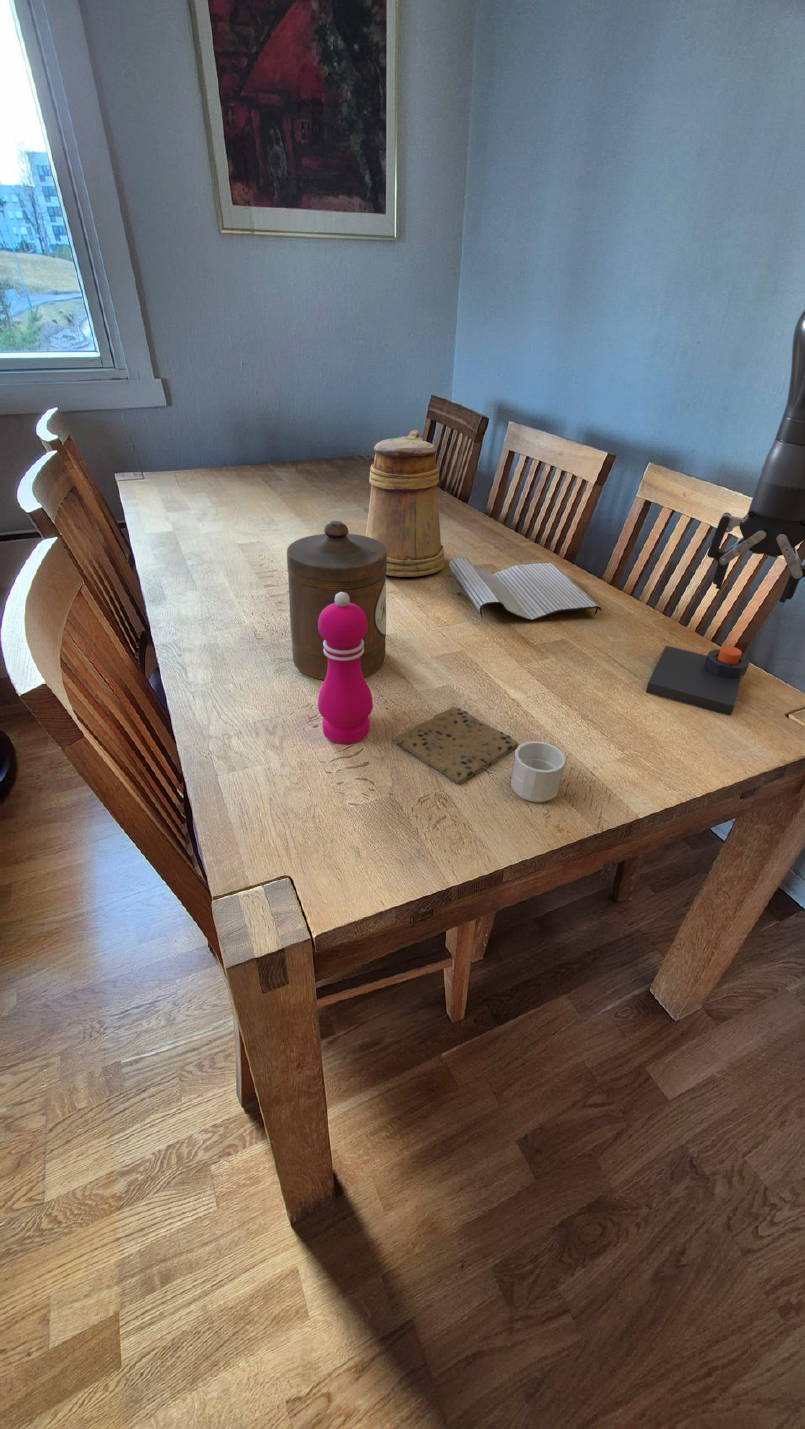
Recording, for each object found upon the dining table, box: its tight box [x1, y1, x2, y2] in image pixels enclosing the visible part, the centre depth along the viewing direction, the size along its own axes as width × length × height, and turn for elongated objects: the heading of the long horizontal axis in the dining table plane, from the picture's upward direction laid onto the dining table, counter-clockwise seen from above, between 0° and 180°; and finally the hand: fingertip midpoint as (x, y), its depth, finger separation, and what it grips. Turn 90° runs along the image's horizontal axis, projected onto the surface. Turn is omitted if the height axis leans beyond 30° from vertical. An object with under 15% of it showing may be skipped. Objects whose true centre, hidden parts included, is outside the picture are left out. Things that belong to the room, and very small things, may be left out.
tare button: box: [718, 645, 743, 664], centre depth 97 cm, size 3×3×2 cm
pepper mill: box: [317, 592, 374, 745], centre depth 79 cm, size 7×7×20 cm
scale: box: [645, 645, 750, 716], centre depth 96 cm, size 12×14×4 cm
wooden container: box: [286, 520, 387, 681], centre depth 95 cm, size 15×15×22 cm
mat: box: [448, 556, 603, 624], centre depth 122 cm, size 23×24×5 cm
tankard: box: [365, 429, 445, 578], centre depth 131 cm, size 18×24×25 cm
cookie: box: [393, 706, 519, 785], centre depth 82 cm, size 12×12×1 cm
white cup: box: [509, 740, 567, 803], centre depth 74 cm, size 6×6×5 cm
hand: (749, 593), depth 91 cm, fingers open, 8 cm apart
